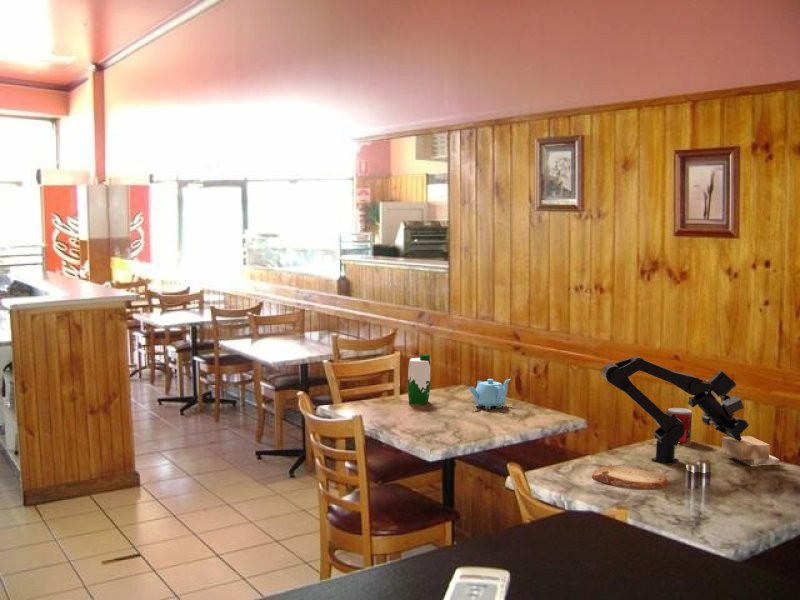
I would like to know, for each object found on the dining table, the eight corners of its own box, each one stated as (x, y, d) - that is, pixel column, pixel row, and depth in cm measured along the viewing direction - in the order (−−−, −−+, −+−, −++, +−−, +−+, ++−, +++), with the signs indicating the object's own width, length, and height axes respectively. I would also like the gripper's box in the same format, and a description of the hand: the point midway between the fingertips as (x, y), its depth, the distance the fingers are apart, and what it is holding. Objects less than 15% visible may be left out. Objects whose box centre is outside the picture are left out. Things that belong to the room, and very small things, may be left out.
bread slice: (674, 486, 251) (675, 473, 250) (629, 495, 242) (630, 482, 241) (629, 470, 266) (630, 458, 266) (585, 477, 257) (586, 465, 257)
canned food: (691, 444, 298) (693, 413, 297) (667, 442, 299) (669, 411, 298) (688, 438, 305) (690, 408, 304) (665, 437, 307) (667, 406, 306)
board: (750, 466, 272) (750, 460, 272) (727, 455, 285) (728, 449, 284) (779, 465, 274) (779, 459, 273) (755, 454, 286) (755, 448, 286)
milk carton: (428, 405, 351) (429, 356, 349) (406, 404, 352) (407, 355, 350) (430, 400, 359) (431, 353, 357) (409, 399, 361) (410, 352, 359)
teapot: (477, 401, 361) (478, 374, 360) (510, 404, 356) (510, 377, 355) (467, 408, 347) (468, 380, 345) (500, 412, 342) (501, 383, 341)
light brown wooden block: (741, 445, 272) (770, 444, 273) (722, 436, 282) (750, 436, 284) (740, 459, 272) (769, 458, 274) (721, 450, 283) (749, 449, 285)
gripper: (745, 394, 266) (774, 429, 269) (712, 383, 284) (741, 415, 287) (720, 420, 265) (750, 454, 268) (689, 406, 284) (717, 439, 287)
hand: (740, 439), depth 278 cm, fingers closed
